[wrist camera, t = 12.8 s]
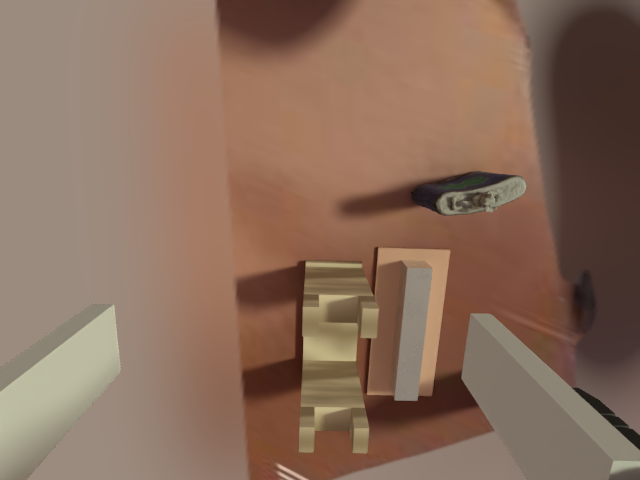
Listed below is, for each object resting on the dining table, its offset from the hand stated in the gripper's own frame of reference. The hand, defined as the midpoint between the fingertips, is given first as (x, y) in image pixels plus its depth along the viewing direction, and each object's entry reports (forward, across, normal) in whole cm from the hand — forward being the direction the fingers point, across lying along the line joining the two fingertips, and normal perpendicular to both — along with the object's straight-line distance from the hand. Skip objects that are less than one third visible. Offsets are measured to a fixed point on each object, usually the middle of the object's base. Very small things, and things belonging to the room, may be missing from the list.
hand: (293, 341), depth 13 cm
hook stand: (+32, +4, -15) cm, 35 cm away
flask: (+32, +17, +3) cm, 36 cm away
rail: (+31, +14, -15) cm, 37 cm away
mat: (+32, +14, -15) cm, 38 cm away
